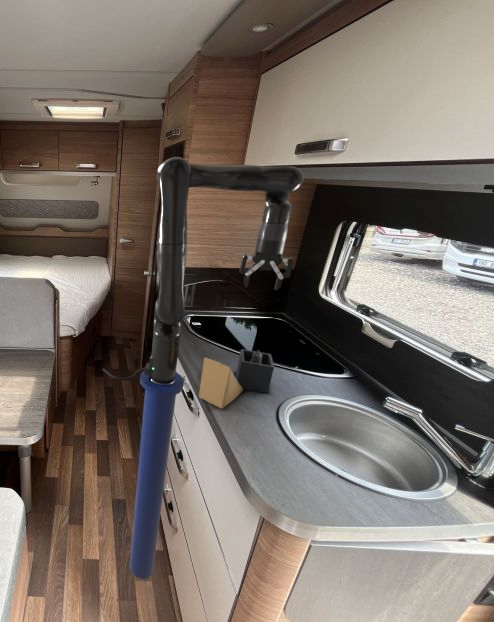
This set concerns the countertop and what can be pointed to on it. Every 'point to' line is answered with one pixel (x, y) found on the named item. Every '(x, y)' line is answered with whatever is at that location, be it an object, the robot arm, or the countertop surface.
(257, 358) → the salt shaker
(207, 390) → the sandwich container
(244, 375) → the trash bin
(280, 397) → the countertop surface
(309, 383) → the countertop surface
